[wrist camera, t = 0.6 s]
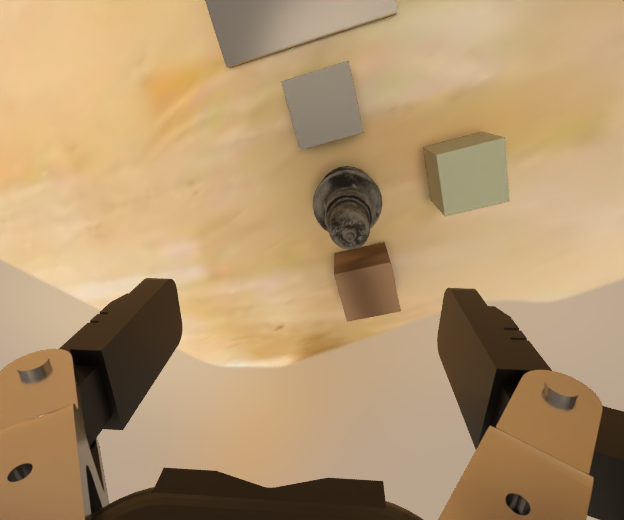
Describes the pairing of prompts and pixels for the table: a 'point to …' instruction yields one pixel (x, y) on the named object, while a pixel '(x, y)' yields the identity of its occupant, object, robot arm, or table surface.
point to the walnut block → (366, 282)
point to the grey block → (323, 105)
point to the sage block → (467, 173)
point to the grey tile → (286, 23)
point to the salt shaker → (347, 206)
